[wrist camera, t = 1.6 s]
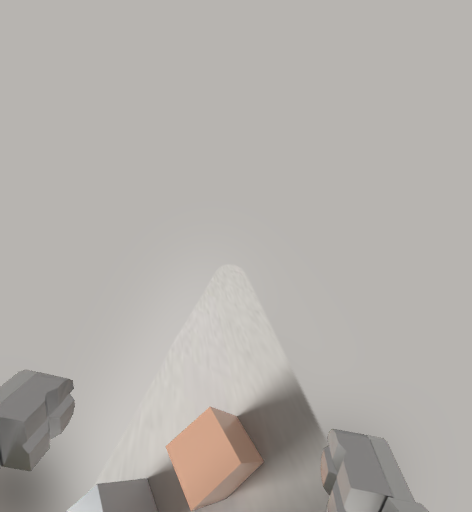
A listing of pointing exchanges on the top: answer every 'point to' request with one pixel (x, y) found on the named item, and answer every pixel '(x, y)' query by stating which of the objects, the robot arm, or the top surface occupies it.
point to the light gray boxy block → (117, 498)
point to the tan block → (212, 457)
